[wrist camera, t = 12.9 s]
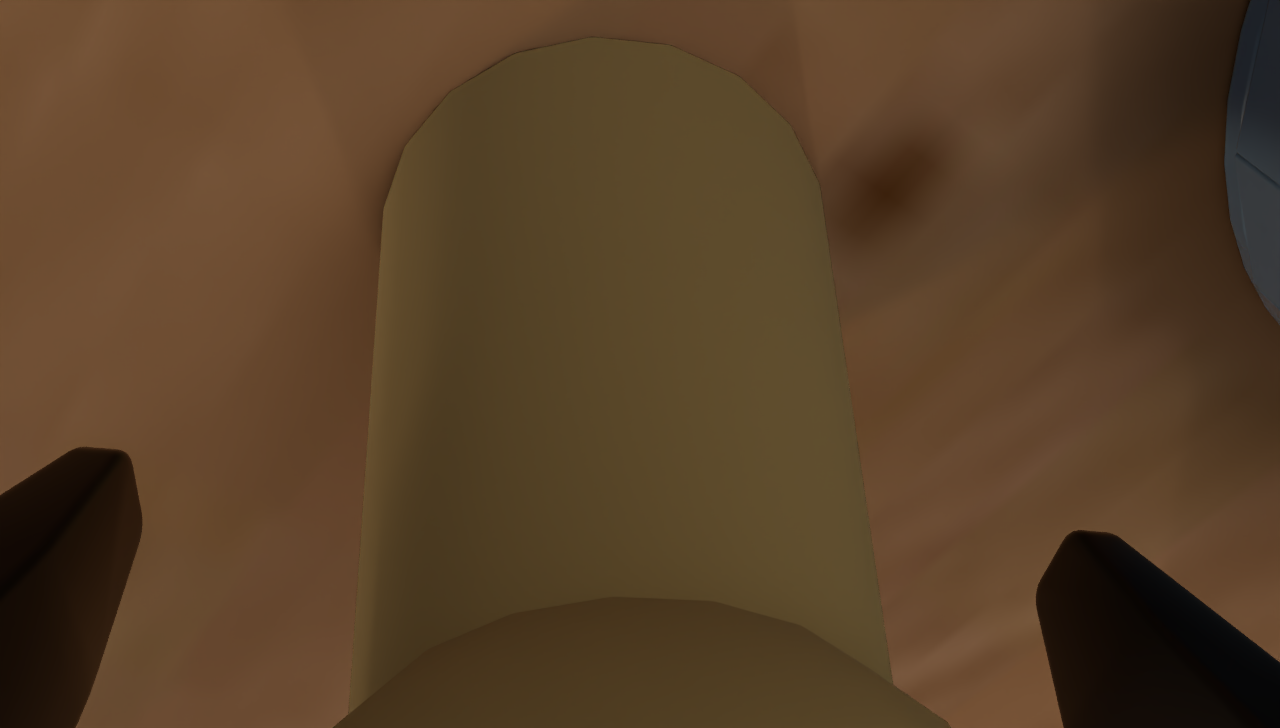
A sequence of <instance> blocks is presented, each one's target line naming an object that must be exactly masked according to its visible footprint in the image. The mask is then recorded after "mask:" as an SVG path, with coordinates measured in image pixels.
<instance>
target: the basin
mask: <svg viewBox="0 0 1280 728" xmlns="http://www.w3.org/2000/svg"><path fill="white" fill-rule="evenodd" d="M1224 166H1225V175H1226V185H1227V194H1228V203H1229V213H1230V220H1231V224H1232V227H1233V231H1234V234H1235V237H1236V241H1237V244H1238V248H1239V251H1240V254H1241V258H1242V261H1243V264H1244V268H1245V270H1246V272H1247V274H1248V275H1249V277H1250V279H1251V281H1252V283H1253V285H1254V287H1255V289H1256V291H1257V293H1258V294H1259V296H1260V298H1261V300H1262V302H1263V304H1264V306H1265V308H1266V309H1267V310H1268V312H1269V313H1270V314H1271V315H1272V316H1273V318H1274V319H1275V320H1276V321H1277V322H1278V324H1279V325H1280V0H1250V3H1249V6H1248V9H1247V12H1246V15H1245V18H1244V22H1243V25H1242V28H1241V32H1240V37H1239V43H1238V48H1237V53H1236V58H1235V63H1234V69H1233V74H1232V79H1231V84H1230V89H1229V95H1228V100H1227V119H1226V138H1225V157H1224Z"/></svg>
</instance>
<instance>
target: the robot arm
mask: <svg viewBox="0 0 1280 728" xmlns="http://www.w3.org/2000/svg"><path fill="white" fill-rule="evenodd" d="M141 533H142V512H141V507H140V502H139V496H138V491H137V486H136V480H135V475H134V470H133V465H132V461H131V459H130V457H129V455H128V454H127V453H126V452H124V451H121V450H117V449H105V448H93V447H78V448H75V449H73V450H71V451H69V452H67V453H66V454H64V455H63V456H61V457H59V458H58V459H56V460H55V461H53V462H52V463H50V464H48V465H47V466H45V467H44V468H42V469H41V470H39V471H37V472H36V473H34V474H33V475H31V476H30V477H28V478H26V479H25V480H23V481H22V482H20V483H19V484H17V485H15V486H14V487H12V488H11V489H9V490H8V491H6V492H4V493H3V494H1V495H0V728H76V725H77V723H78V721H79V719H80V716H81V714H82V712H83V709H84V707H85V705H86V702H87V700H88V697H89V695H90V692H91V689H92V687H93V684H94V681H95V678H96V675H97V672H98V669H99V666H100V663H101V660H102V657H103V654H104V651H105V648H106V645H107V641H108V638H109V635H110V632H111V629H112V626H113V623H114V620H115V617H116V614H117V610H118V607H119V604H120V601H121V598H122V595H123V592H124V589H125V586H126V583H127V579H128V576H129V573H130V570H131V567H132V564H133V561H134V558H135V555H136V552H137V548H138V545H139V542H140V538H141ZM1036 607H1037V612H1038V617H1039V621H1040V625H1041V630H1042V634H1043V639H1044V643H1045V647H1046V652H1047V656H1048V661H1049V665H1050V669H1051V674H1052V678H1053V683H1054V687H1055V691H1056V696H1057V700H1058V705H1059V709H1060V713H1061V718H1062V722H1063V726H1064V728H1280V662H1279V661H1277V660H1276V659H1275V658H1273V657H1272V656H1271V655H1270V654H1268V653H1267V652H1266V651H1264V650H1263V649H1262V648H1261V647H1259V646H1258V645H1257V644H1255V643H1254V642H1253V641H1252V640H1250V639H1249V638H1248V637H1246V636H1245V635H1244V634H1243V633H1241V632H1240V631H1239V630H1237V629H1236V628H1235V627H1234V626H1232V625H1231V624H1230V623H1228V622H1227V621H1226V620H1225V619H1223V618H1222V617H1221V616H1220V615H1218V614H1217V613H1216V612H1214V611H1213V610H1212V609H1211V608H1209V607H1208V606H1207V605H1205V604H1204V603H1203V602H1202V601H1200V600H1199V599H1198V598H1196V597H1195V596H1194V595H1193V594H1191V593H1190V592H1189V591H1187V590H1186V589H1185V588H1184V587H1182V586H1181V585H1180V584H1178V583H1177V582H1176V581H1175V580H1173V579H1172V578H1171V577H1169V576H1168V575H1167V574H1166V573H1164V572H1163V571H1162V570H1160V569H1159V568H1158V567H1157V566H1155V565H1154V564H1153V563H1151V562H1150V561H1149V560H1148V559H1146V558H1145V557H1144V556H1142V555H1141V554H1140V553H1139V552H1137V551H1136V550H1135V549H1133V548H1132V547H1131V546H1130V545H1128V544H1127V543H1126V542H1125V541H1123V540H1122V539H1121V538H1119V537H1118V536H1116V535H1114V534H1111V533H1107V532H1096V531H1084V530H1077V531H1073V532H1071V533H1070V534H1069V535H1067V536H1066V537H1065V539H1064V540H1063V542H1062V544H1061V545H1060V547H1059V549H1058V550H1057V552H1056V554H1055V556H1054V557H1053V559H1052V561H1051V563H1050V564H1049V566H1048V568H1047V570H1046V571H1045V573H1044V575H1043V576H1042V578H1041V580H1040V582H1039V584H1038V588H1037V592H1036Z"/></svg>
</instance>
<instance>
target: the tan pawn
mask: <svg viewBox="0 0 1280 728" xmlns="http://www.w3.org/2000/svg"><path fill="white" fill-rule="evenodd" d="M333 728H951V727H950V725H949V724H948V722H946V721H945V720H943V719H942V718H941V717H939V716H938V715H936V714H935V713H933V712H932V711H930V710H929V709H927V708H926V707H925V706H923V705H922V704H920V703H919V702H917V701H916V700H914V699H913V698H911V697H910V696H909V695H907V694H906V693H904V692H903V691H901V690H900V689H898V688H897V687H895V686H894V685H893V681H892V675H891V668H890V661H889V654H888V647H887V640H886V634H885V627H884V620H883V613H882V606H881V599H880V593H879V586H878V579H877V572H876V565H875V558H874V552H873V545H872V538H871V531H870V524H869V517H868V511H867V504H866V497H865V490H864V483H863V476H862V470H861V463H860V456H859V449H858V442H857V435H856V429H855V422H854V415H853V408H852V401H851V395H850V388H849V381H848V374H847V367H846V360H845V354H844V347H843V340H842V333H841V326H840V319H839V313H838V306H837V299H836V292H835V285H834V278H833V272H832V265H831V258H830V251H829V244H828V237H827V231H826V224H825V217H824V210H823V203H822V196H821V190H820V184H819V182H818V180H817V178H816V176H815V174H814V172H813V170H812V167H811V165H810V163H809V161H808V159H807V157H806V155H805V153H804V151H803V149H802V147H801V145H800V143H799V141H798V139H797V137H796V135H795V133H794V131H793V129H792V127H791V125H790V124H789V123H788V122H787V121H786V120H785V119H784V118H783V117H782V116H780V115H779V114H778V113H777V112H776V111H775V110H774V109H773V108H772V107H771V106H770V105H769V104H768V103H767V102H766V101H765V100H764V99H763V98H762V97H761V96H759V95H758V94H757V93H756V92H755V91H754V90H753V89H752V88H751V87H750V86H749V85H748V84H747V83H746V82H745V81H744V80H743V79H742V78H741V77H740V76H737V75H735V74H733V73H731V72H729V71H726V70H724V69H722V68H720V67H718V66H715V65H713V64H711V63H709V62H706V61H704V60H702V59H700V58H698V57H695V56H693V55H691V54H689V53H687V52H684V51H682V50H680V49H678V48H676V47H673V46H671V45H664V44H655V43H645V42H636V41H626V40H617V39H608V38H598V37H589V38H584V39H580V40H575V41H570V42H566V43H561V44H556V45H551V46H547V47H542V48H537V49H533V50H528V51H523V52H519V53H515V54H513V55H511V56H510V57H508V58H506V59H504V60H503V61H501V62H499V63H498V64H496V65H494V66H493V67H491V68H489V69H488V70H486V71H484V72H483V73H481V74H479V75H477V76H476V77H474V78H472V79H471V80H469V81H467V82H466V83H464V84H462V85H461V86H459V87H457V88H456V89H454V90H452V91H450V92H449V94H448V95H447V96H446V97H445V98H444V100H443V101H442V102H441V103H440V104H439V106H438V107H437V108H436V109H435V110H434V112H433V113H432V114H431V115H430V116H429V118H428V119H427V120H426V121H425V122H424V124H423V125H422V126H421V127H420V128H419V130H418V131H417V132H416V133H415V135H414V136H413V137H412V138H411V139H410V141H409V142H408V143H407V144H406V145H405V147H404V150H403V153H402V156H401V159H400V162H399V165H398V168H397V170H396V173H395V176H394V179H393V182H392V185H391V188H390V191H389V194H388V197H387V200H386V202H385V205H384V209H383V223H382V237H381V252H380V266H379V281H378V295H377V309H376V324H375V338H374V352H373V367H372V381H371V396H370V410H369V424H368V439H367V453H366V468H365V482H364V496H363V511H362V525H361V539H360V554H359V568H358V583H357V597H356V611H355V626H354V640H353V655H352V669H351V683H350V698H349V712H348V715H347V716H346V717H345V718H344V719H343V720H341V721H340V722H339V723H338V724H337V725H335V726H334V727H333Z"/></svg>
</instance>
